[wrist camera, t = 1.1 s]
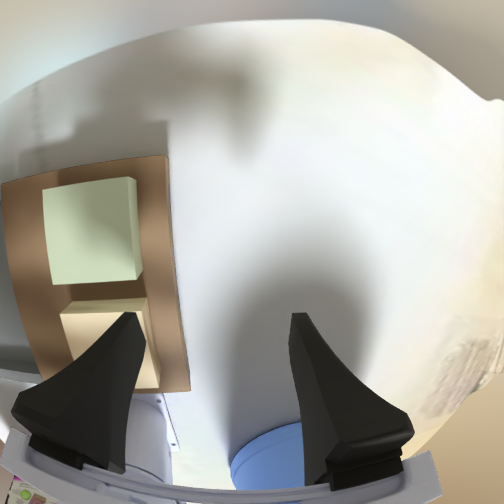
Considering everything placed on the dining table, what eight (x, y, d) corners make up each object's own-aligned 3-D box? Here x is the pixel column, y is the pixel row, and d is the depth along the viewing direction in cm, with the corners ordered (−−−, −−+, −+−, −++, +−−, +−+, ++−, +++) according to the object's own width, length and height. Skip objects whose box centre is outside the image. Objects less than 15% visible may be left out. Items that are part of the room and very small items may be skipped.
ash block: (161, 368, 19) (158, 387, 17) (92, 369, 18) (84, 387, 15) (147, 297, 18) (141, 311, 16) (72, 301, 17) (59, 313, 14)
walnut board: (189, 371, 23) (190, 391, 20) (57, 371, 20) (47, 388, 17) (168, 161, 19) (165, 154, 17) (20, 184, 17) (2, 183, 14)
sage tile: (143, 269, 18) (136, 279, 15) (67, 274, 16) (53, 284, 14) (136, 179, 16) (128, 176, 14) (59, 190, 15) (42, 189, 13)
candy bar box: (40, 467, 21) (19, 540, 5) (24, 447, 20) (-4, 523, 4) (98, 478, 23) (88, 566, 7) (82, 459, 22) (65, 554, 6)
